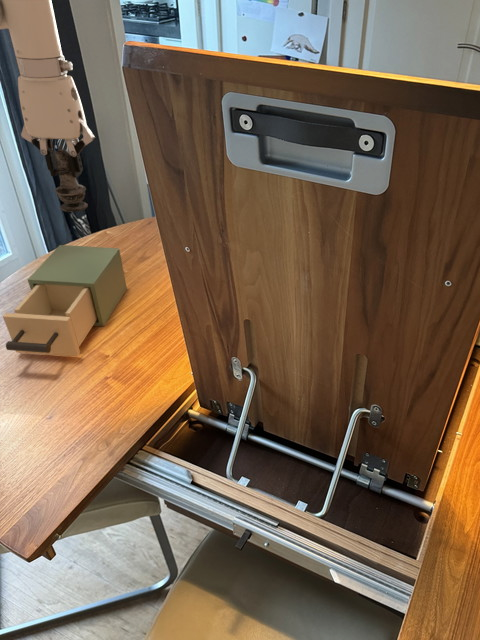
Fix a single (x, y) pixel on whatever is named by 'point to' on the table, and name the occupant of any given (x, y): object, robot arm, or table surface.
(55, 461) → the table surface
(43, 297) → the drawer
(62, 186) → the brown carved figurine
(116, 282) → the cabinet
